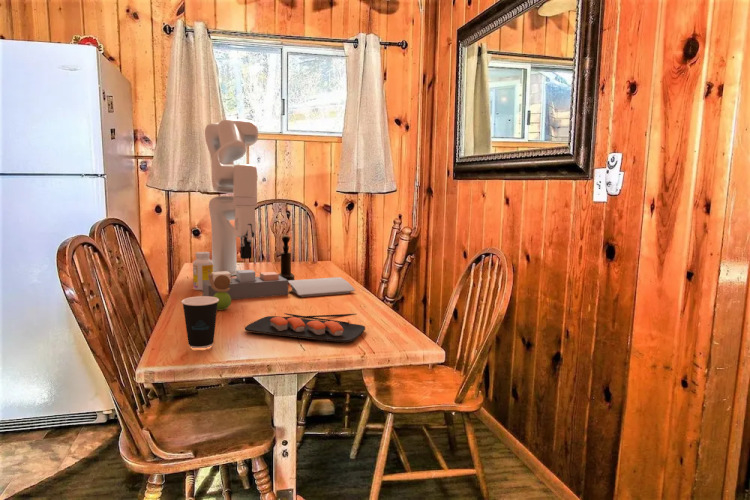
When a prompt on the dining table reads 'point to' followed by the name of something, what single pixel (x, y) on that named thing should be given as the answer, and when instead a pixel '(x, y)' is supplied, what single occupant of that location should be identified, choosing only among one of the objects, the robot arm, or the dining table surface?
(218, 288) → the snail figurine
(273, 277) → the terracotta key
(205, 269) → the supplement bottle
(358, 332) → the sushi plate
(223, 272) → the cream key
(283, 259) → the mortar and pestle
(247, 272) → the slate key
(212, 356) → the dining table surface
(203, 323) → the dixie cup
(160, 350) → the dining table surface
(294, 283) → the book
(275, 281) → the key panel
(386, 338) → the dining table surface
